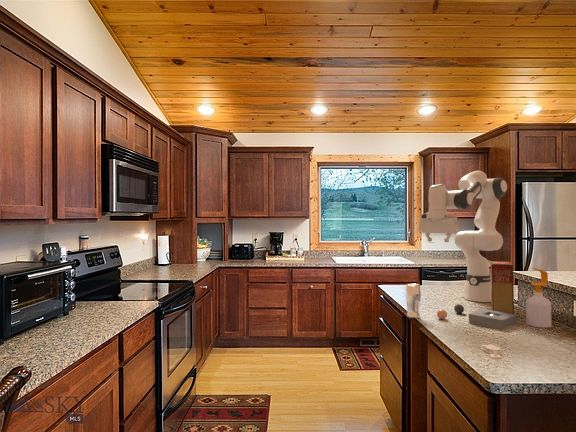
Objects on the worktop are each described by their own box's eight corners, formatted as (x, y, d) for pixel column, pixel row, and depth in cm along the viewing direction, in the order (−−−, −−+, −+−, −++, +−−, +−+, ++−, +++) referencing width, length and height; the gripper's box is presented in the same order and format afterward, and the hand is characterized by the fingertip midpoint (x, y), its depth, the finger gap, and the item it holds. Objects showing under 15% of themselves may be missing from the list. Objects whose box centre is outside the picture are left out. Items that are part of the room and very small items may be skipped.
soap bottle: (521, 322, 169) (521, 266, 170) (542, 322, 169) (542, 266, 169) (534, 328, 160) (533, 269, 161) (556, 328, 160) (555, 269, 160)
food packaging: (490, 311, 190) (490, 260, 190) (512, 313, 186) (512, 261, 186) (491, 317, 178) (491, 263, 178) (515, 319, 174) (514, 264, 174)
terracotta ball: (440, 317, 179) (439, 307, 179) (449, 319, 175) (448, 309, 175) (435, 318, 176) (434, 309, 176) (444, 320, 173) (443, 311, 173)
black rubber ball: (457, 311, 189) (456, 302, 189) (465, 313, 186) (465, 304, 186) (452, 313, 186) (452, 304, 186) (461, 315, 183) (461, 305, 183)
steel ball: (489, 320, 170) (491, 311, 170) (499, 324, 167) (501, 315, 166) (484, 322, 168) (487, 313, 167) (495, 326, 164) (497, 317, 164)
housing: (483, 317, 178) (483, 308, 178) (516, 323, 167) (516, 314, 167) (468, 322, 169) (468, 313, 169) (502, 329, 158) (502, 320, 158)
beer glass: (405, 317, 178) (405, 285, 179) (406, 314, 185) (405, 283, 185) (421, 319, 176) (420, 286, 176) (421, 315, 183) (421, 284, 183)
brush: (472, 351, 134) (472, 345, 134) (489, 348, 138) (489, 342, 138) (496, 360, 126) (496, 354, 126) (513, 356, 129) (513, 350, 129)
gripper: (460, 215, 193) (460, 242, 192) (423, 215, 208) (423, 240, 208) (454, 215, 189) (454, 243, 188) (416, 215, 204) (417, 241, 204)
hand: (437, 241), depth 199 cm, fingers open, 8 cm apart
